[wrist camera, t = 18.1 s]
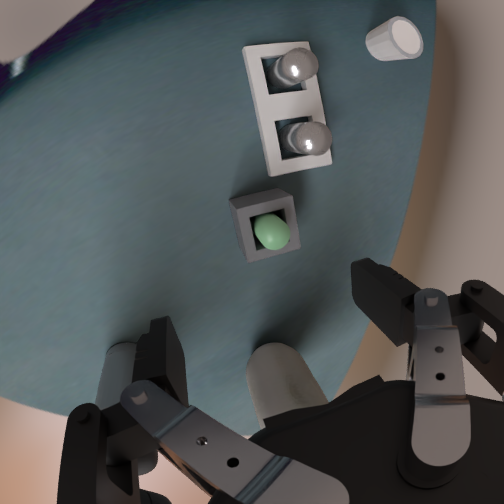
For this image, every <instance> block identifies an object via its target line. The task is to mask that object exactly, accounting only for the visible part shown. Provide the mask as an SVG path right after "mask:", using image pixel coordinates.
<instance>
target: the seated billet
mask: <svg viewBox="0 0 504 504" xmlns="http://www.w3.org/2000/svg"><path fill="white" fill-rule="evenodd" d="M318 68H319V64H318V60H317V58H316V56H315V55H314V54H313V53H312V52H311V51H310V50H308V49H306V48H301V47H298V48H294V49H292V50H290V51H289V52H288V53H286V54H285V55H283V56H282V57H281V58H279V59H278V60H277V61H275V62H274V63H273V64H272V65H270V66H269V68H268V69H267V72H266V77H267V80H268V82H269V83H270V84H271V85H272V86H273V87H275V88H278V89H286V88H288V87H291V86H293V85H295V84H298V83H300V82H302V81H305V80H307V79H310V78H312V77H313V76H314V75H315V74H316V73H317V71H318Z"/></svg>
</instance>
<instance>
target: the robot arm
mask: <svg viewBox="0 0 504 504" xmlns="http://www.w3.org/2000/svg"><path fill="white" fill-rule="evenodd" d="M351 281H352V296H353V299H354V302H355V304H356V305H357V306H358V307H359V308H360V309H361V310H362V311H363V312H364V313H365V314H366V315H367V316H368V317H369V318H370V319H371V320H372V322H373V323H374V324H376V325H377V326H378V328H379V329H380V330H381V331H382V332H383V333H384V334H385V335H386V336H387V337H388V338H389V339H390V340H391V341H392V342H393V343H394V344H395V345H396V346H397V347H398V346H400V345H402V344H404V343H406V342H407V343H408V344H409V347H408V359H407V374H406V380H394V381H386V382H384V381H383V379H382V378H381V377H380V375H378V376H375V377H373V378H371V379H369V380H366V381H364V382H362V383H360V384H357V385H355V386H353V387H352V388H350V389H349V390H347V391H346V392H344V393H343V394H342V395H340V396H339V397H337V398H336V399H334V400H333V401H331V402H329V403H327V404H324V405H318V406H312V407H305V408H298V409H292V410H289V411H286V412H283V413H280V414H277V415H274V416H271V417H267V418H264V419H263V421H264V424H265V428H263V429H261V430H260V431H258V432H257V433H255V434H254V435H253V436H251V437H250V438H249V439H246V438H244V437H243V436H241V435H239V434H237V433H236V432H234V431H232V430H231V429H229V428H228V427H226V426H224V425H223V424H221V423H220V422H218V421H216V420H215V419H213V418H212V417H210V416H209V415H207V414H206V413H204V412H203V411H201V410H200V409H198V408H197V407H195V406H193V405H190V406H189V404H188V393H187V382H186V369H185V357H184V352H183V349H182V346H181V343H180V341H179V339H178V336H177V334H176V332H175V329H174V327H173V324H172V322H171V320H170V318H169V316H165V317H161V318H157V319H154V320H151V323H150V332H149V333H147V334H143V335H142V336H141V338H140V339H139V341H138V342H137V344H135V343H119V344H117V345H114V346H113V347H111V348H110V349H109V350H108V352H107V354H106V358H105V362H104V366H103V369H102V373H101V378H100V382H99V387H98V391H97V396H96V401H95V404H92V403H85V404H82V405H79V406H78V407H76V408H75V409H74V410H73V411H72V412H71V413H70V415H69V417H68V420H67V425H66V431H65V437H64V443H63V450H62V457H61V465H60V473H59V482H58V493H57V504H172V503H171V502H170V501H169V499H168V498H166V497H165V496H163V495H161V494H158V493H154V492H150V491H146V490H143V489H139V477H138V476H139V475H143V474H146V473H148V472H150V471H152V470H153V469H154V468H155V467H156V464H157V462H158V452H160V453H161V454H162V455H163V456H164V457H165V458H166V459H167V460H168V461H169V462H171V463H172V464H173V465H174V466H175V467H176V468H178V469H179V470H180V471H181V472H182V473H183V474H184V475H186V476H187V477H188V478H189V479H190V480H191V481H193V482H194V483H195V484H196V485H197V486H198V487H199V488H200V489H201V490H203V491H204V492H205V493H206V494H208V495H209V496H210V497H211V499H210V501H209V502H208V504H504V295H503V294H501V293H500V292H498V291H497V290H496V289H494V288H493V287H491V286H490V285H488V284H487V283H485V282H483V281H480V280H469V281H466V282H464V283H463V284H462V287H461V293H460V294H455V295H450V296H447V295H446V294H445V293H444V292H442V291H440V290H438V289H433V288H426V289H420V288H419V287H417V286H416V285H415V284H413V283H412V282H410V281H409V280H408V279H406V278H404V277H403V276H402V275H401V274H398V273H397V272H396V271H395V270H393V269H392V268H391V267H387V266H384V265H381V264H380V265H378V264H377V263H375V262H374V261H373V260H371V259H370V258H364V259H361V260H358V261H355V262H352V264H351ZM484 322H485V323H486V324H488V325H489V326H490V327H491V328H492V329H494V331H495V332H496V335H497V341H496V343H495V342H494V341H493V340H492V339H491V338H490V337H489V336H487V335H486V334H485V333H484V332H483V331H482V329H483V325H484ZM462 355H463V356H464V357H465V358H466V359H467V360H468V361H469V362H470V363H471V364H472V365H473V366H474V367H475V368H476V369H477V370H478V371H479V372H480V374H481V375H482V376H483V377H484V378H485V379H486V380H487V381H488V382H489V383H490V384H491V385H492V386H493V387H494V388H495V389H496V391H498V393H499V394H500V395H501V396H502V400H503V402H502V401H496V400H491V399H486V398H481V397H477V396H472V395H468V394H465V381H464V371H463V361H462Z"/></svg>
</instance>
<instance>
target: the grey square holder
mask: <svg viewBox="0 0 504 504" xmlns="http://www.w3.org/2000/svg"><path fill="white" fill-rule="evenodd" d="M229 204H230V208H231V212H232V217H233V221H234V225H235V230H236V234H237V238H238V242H239V247H240V249H241V251H242V252H243V254H244V256H245V258H246V260H247V262H248V263H251V262H254V261H258V260H261V259H265V258H268V257H272V256H275V255H279V254H283V253H286V252H290V251H293V250H297V249H300V248H301V246H300V239H299V232H298V226H297V220H296V213H295V207H294V201H293V195H291V194H289V193H287V192H285V191H283V190H281V189H279V188H274V189H270V190H266V191H262V192H258V193H254V194H249V195H245V196H241V197H237V198H233V199H230V200H229ZM271 211H273V213H274V214H275V215H276V216H278V217H279V218H280V219H281V220H282V221H284V222H285V223H286V224H287V225H288V227H289V229H290V239H289V241H288V243H287V244H286V245H285V246H284V247H283V248H281V249H278V250H270V249H268V248H266V247H265V246H264V245H263V244H262V243H261V241H260V240H259V239H258V238H257V236H256V235H255V234H253V233H252V228H251V223H250V219H249V217H252V216H255V215H259V214H263V213H267V212H271Z"/></svg>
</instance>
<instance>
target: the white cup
mask: <svg viewBox="0 0 504 504" xmlns="http://www.w3.org/2000/svg"><path fill="white" fill-rule="evenodd" d="M366 46H367V49H368V50H369V52H370V53H371V55H373V56H374V57H375V58H376V59H378V60H380V61H391V60H401V59H413V58H417V57H418V56H420V55H421V53H422V51H423V40H422V36H421V34H420V32H419V31H418V29H417V27H416V26H415V25H414V24H413V23H412V22H411V21H410V20H408V19H406V18H404V17H399V16H396V17H394V18H391V19H390V20H388V21H386V22H385V23H383V24H381V25H380V26H378V27H376V28H375V29H373V30H371V31H370V32H369V33H368V34H367V36H366Z"/></svg>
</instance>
